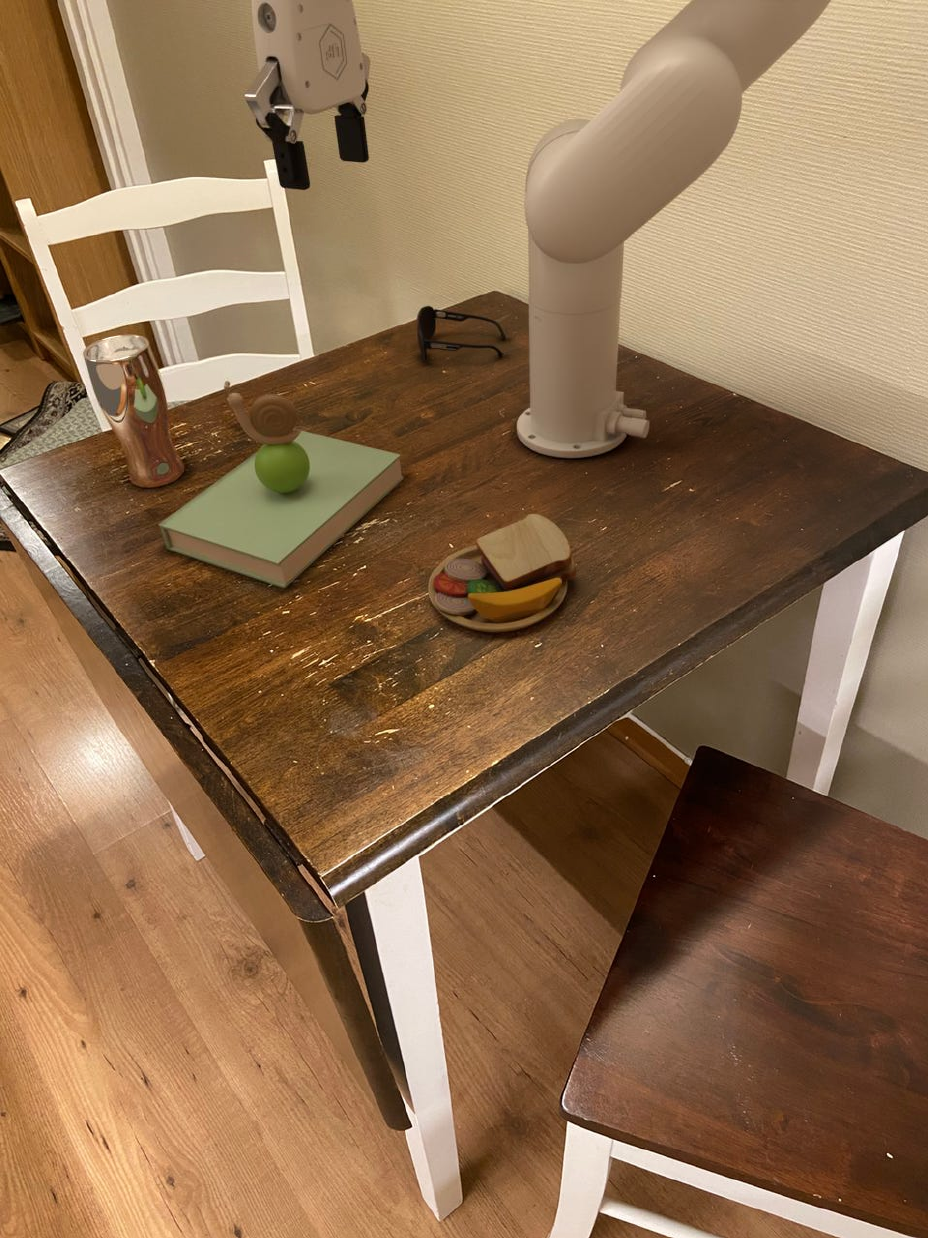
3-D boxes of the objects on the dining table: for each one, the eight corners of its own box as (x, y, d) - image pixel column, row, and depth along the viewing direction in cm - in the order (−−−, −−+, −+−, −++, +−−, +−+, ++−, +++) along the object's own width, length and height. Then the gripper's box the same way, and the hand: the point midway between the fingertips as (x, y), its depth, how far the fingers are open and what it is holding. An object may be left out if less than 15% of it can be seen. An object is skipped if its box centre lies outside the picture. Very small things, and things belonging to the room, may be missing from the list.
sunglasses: (421, 333, 125) (422, 298, 122) (505, 342, 125) (508, 307, 121) (410, 365, 117) (412, 329, 114) (500, 375, 117) (504, 339, 113)
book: (403, 478, 96) (400, 454, 94) (284, 588, 82) (278, 563, 80) (294, 450, 102) (289, 427, 100) (166, 549, 88) (158, 524, 86)
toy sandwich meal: (415, 567, 84) (410, 526, 80) (551, 539, 86) (551, 498, 83) (447, 653, 74) (443, 610, 71) (598, 619, 76) (600, 575, 73)
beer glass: (172, 492, 97) (130, 362, 87) (115, 488, 98) (67, 360, 88) (198, 459, 102) (162, 333, 92) (144, 456, 103) (101, 332, 93)
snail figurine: (253, 478, 92) (226, 370, 84) (315, 472, 92) (293, 363, 84) (248, 506, 88) (219, 396, 80) (312, 500, 88) (290, 389, 80)
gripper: (262, -36, 67) (303, 203, 78) (386, -58, 78) (406, 153, 89) (189, -34, 70) (238, 196, 81) (318, -56, 81) (345, 149, 92)
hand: (326, 173), depth 85 cm, fingers open, 9 cm apart
